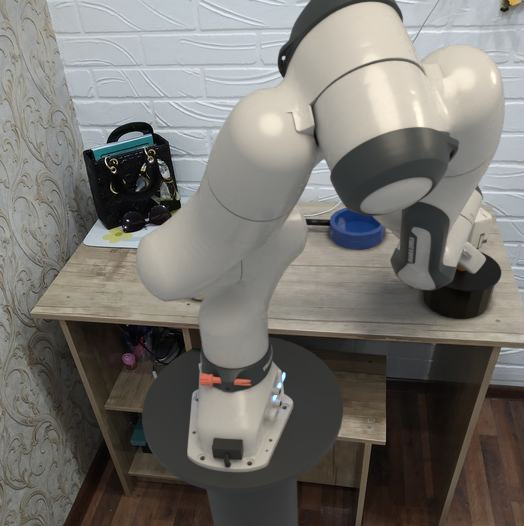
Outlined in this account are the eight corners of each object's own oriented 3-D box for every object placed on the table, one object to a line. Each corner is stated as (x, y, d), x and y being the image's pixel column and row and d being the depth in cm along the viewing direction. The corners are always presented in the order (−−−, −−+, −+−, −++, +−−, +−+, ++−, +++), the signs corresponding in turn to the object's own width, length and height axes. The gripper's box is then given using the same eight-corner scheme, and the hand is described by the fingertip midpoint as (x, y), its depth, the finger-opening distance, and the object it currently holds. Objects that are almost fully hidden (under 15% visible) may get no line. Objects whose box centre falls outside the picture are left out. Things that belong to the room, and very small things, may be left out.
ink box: (443, 248, 136) (452, 203, 128) (462, 243, 137) (471, 199, 129) (464, 267, 130) (474, 221, 122) (483, 262, 131) (494, 216, 123)
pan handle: (332, 227, 142) (333, 221, 141) (290, 225, 143) (290, 220, 142) (333, 224, 143) (333, 218, 142) (291, 222, 144) (291, 216, 143)
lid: (505, 297, 111) (512, 273, 107) (424, 292, 113) (428, 269, 109) (495, 253, 122) (501, 230, 118) (422, 250, 124) (425, 227, 120)
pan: (384, 250, 137) (385, 236, 134) (327, 248, 139) (327, 234, 136) (384, 221, 147) (386, 207, 144) (331, 219, 149) (332, 205, 146)
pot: (492, 321, 116) (500, 291, 111) (423, 316, 118) (428, 287, 113) (484, 281, 126) (492, 253, 121) (421, 278, 128) (426, 249, 123)
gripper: (476, 234, 93) (505, 264, 103) (394, 186, 107) (427, 217, 117) (451, 265, 95) (482, 292, 105) (373, 214, 108) (407, 243, 118)
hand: (452, 252), depth 111 cm, fingers open, 8 cm apart
